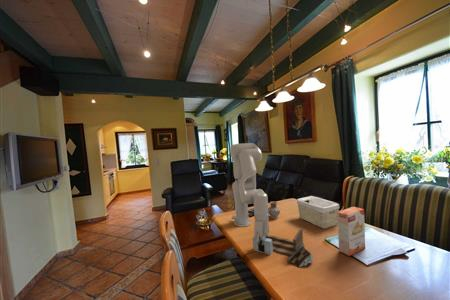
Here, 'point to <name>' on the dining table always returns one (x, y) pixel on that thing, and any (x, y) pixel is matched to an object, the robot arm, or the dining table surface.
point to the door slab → (267, 245)
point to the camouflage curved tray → (300, 257)
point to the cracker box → (351, 230)
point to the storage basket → (318, 211)
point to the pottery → (273, 210)
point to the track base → (287, 243)
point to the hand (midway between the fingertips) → (263, 248)
